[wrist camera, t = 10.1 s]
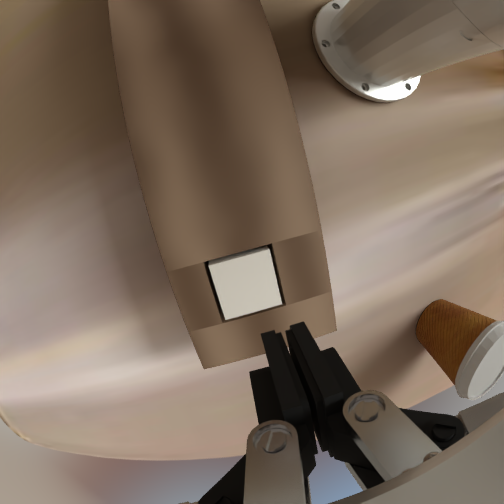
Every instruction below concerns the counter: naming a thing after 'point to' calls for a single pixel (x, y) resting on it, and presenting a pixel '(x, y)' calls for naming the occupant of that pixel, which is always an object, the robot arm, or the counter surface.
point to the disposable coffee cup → (463, 346)
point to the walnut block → (220, 163)
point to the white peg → (245, 282)
